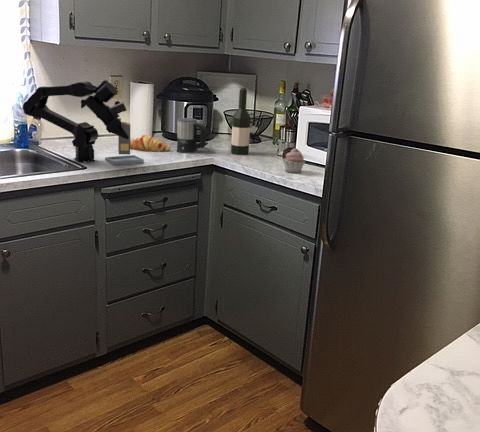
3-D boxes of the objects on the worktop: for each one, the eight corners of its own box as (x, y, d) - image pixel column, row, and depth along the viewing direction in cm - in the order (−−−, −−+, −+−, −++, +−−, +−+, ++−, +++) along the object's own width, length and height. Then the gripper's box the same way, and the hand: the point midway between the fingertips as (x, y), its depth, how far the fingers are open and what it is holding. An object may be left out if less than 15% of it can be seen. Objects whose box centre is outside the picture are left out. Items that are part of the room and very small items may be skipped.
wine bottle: (246, 155, 260) (250, 89, 251) (228, 154, 261) (232, 87, 252) (250, 152, 268) (254, 87, 259) (232, 150, 269) (236, 86, 260)
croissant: (171, 157, 264) (173, 141, 265) (168, 151, 254) (170, 134, 255) (126, 153, 265) (128, 137, 266) (121, 146, 255) (124, 129, 256)
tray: (114, 165, 226) (113, 161, 226) (105, 160, 233) (105, 157, 233) (143, 162, 233) (143, 159, 233) (134, 158, 240) (134, 155, 240)
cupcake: (291, 175, 228) (293, 150, 225) (277, 170, 235) (279, 146, 232) (309, 173, 233) (311, 149, 230) (294, 168, 240) (296, 145, 237)
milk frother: (175, 152, 257) (175, 120, 253) (178, 146, 272) (179, 115, 268) (206, 154, 258) (207, 121, 253) (208, 148, 273) (209, 117, 268)
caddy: (118, 154, 229) (118, 123, 225) (118, 151, 234) (118, 121, 230) (130, 154, 230) (130, 123, 227) (129, 151, 235) (129, 121, 231)
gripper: (115, 97, 216) (144, 127, 222) (113, 92, 233) (140, 120, 239) (94, 117, 216) (123, 146, 222) (94, 110, 233) (121, 138, 239)
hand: (127, 137), depth 231 cm, fingers closed on caddy, 5 cm apart
